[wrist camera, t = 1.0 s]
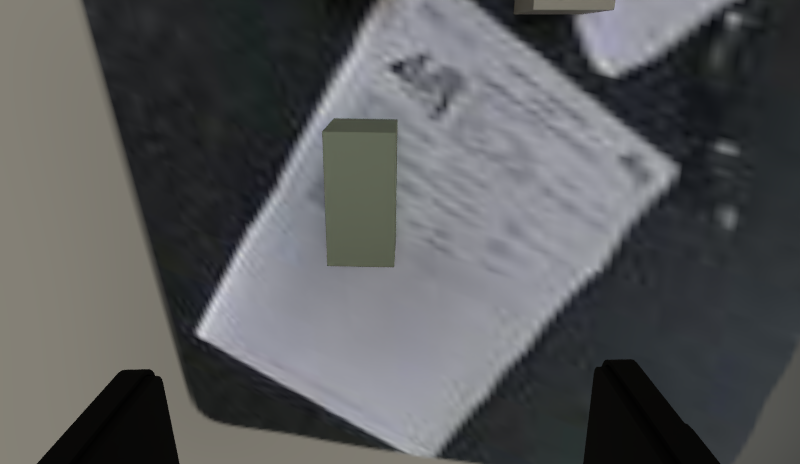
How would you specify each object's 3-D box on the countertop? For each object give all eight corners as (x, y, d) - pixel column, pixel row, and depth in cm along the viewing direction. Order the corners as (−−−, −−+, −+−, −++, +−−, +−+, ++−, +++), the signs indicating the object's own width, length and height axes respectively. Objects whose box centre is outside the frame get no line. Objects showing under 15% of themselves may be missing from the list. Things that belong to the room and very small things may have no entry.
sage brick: (334, 118, 32) (322, 131, 27) (397, 119, 32) (396, 133, 27) (337, 235, 35) (327, 265, 30) (395, 236, 35) (394, 267, 30)
